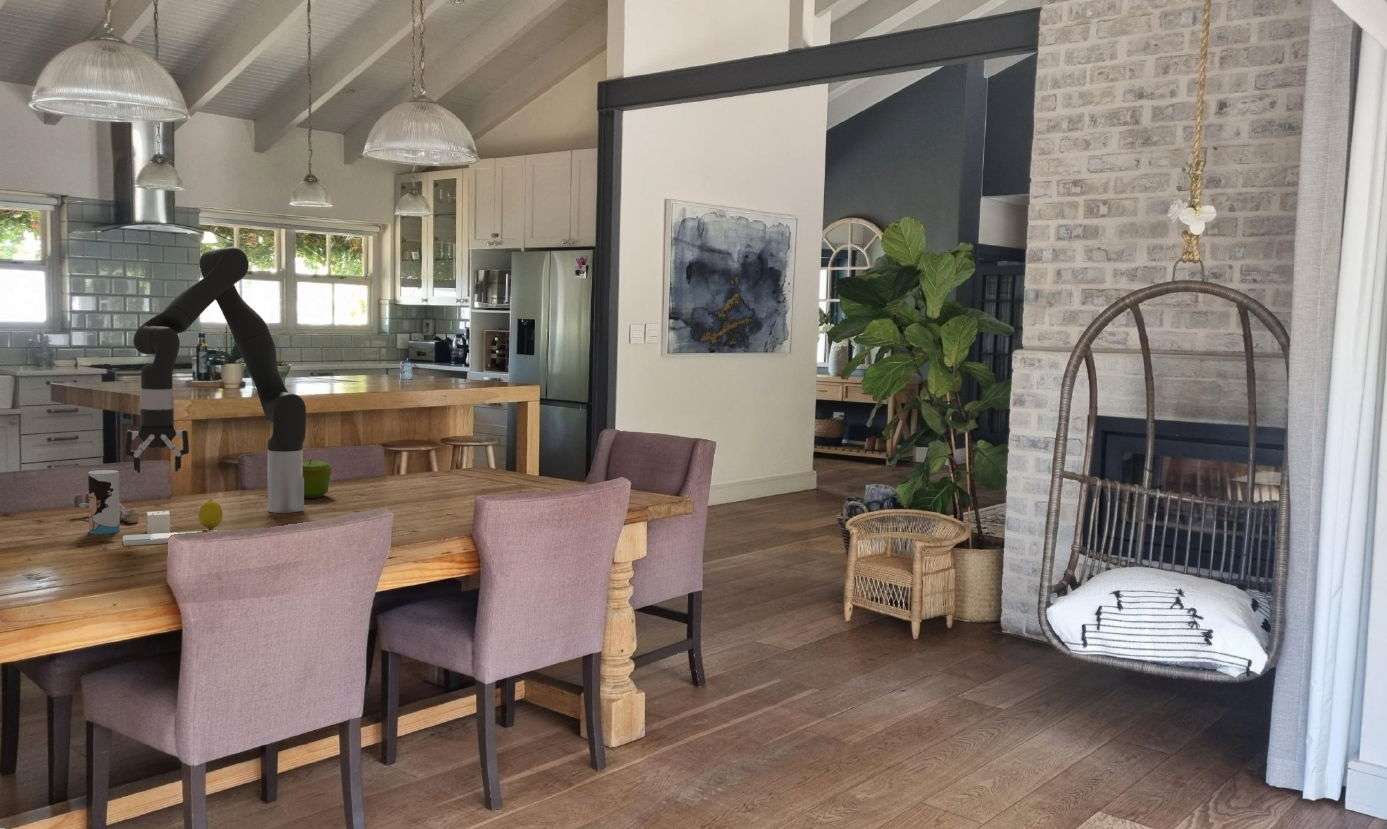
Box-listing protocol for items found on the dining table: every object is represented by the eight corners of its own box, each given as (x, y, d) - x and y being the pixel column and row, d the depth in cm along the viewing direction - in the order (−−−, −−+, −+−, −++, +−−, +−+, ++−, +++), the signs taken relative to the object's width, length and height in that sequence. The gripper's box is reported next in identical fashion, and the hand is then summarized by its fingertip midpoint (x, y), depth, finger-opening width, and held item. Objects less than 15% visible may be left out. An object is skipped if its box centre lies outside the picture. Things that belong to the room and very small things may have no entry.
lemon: (203, 527, 290) (203, 497, 290) (225, 528, 291) (225, 497, 290) (195, 532, 285) (195, 500, 284) (218, 532, 285) (218, 501, 285)
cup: (106, 527, 287) (105, 469, 285) (125, 530, 284) (125, 471, 283) (83, 532, 280) (81, 472, 279) (103, 535, 278) (102, 474, 277)
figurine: (92, 490, 304) (146, 505, 296) (91, 511, 304) (145, 526, 297) (71, 493, 298) (126, 508, 290) (70, 514, 299) (125, 530, 291)
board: (230, 533, 284) (230, 529, 284) (232, 539, 278) (232, 534, 278) (123, 540, 273) (123, 535, 273) (123, 545, 267) (123, 540, 267)
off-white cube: (169, 530, 287) (168, 510, 286) (170, 534, 282) (169, 513, 282) (146, 531, 284) (146, 511, 284) (147, 535, 280) (146, 514, 279)
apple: (300, 492, 349) (300, 456, 348) (338, 494, 347) (338, 458, 346) (280, 498, 337) (280, 461, 336) (319, 501, 335) (319, 463, 334)
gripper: (187, 405, 287) (187, 468, 289) (124, 405, 281) (125, 470, 282) (189, 408, 281) (189, 472, 282) (125, 408, 274) (125, 474, 275)
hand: (157, 471), depth 282 cm, fingers open, 8 cm apart
